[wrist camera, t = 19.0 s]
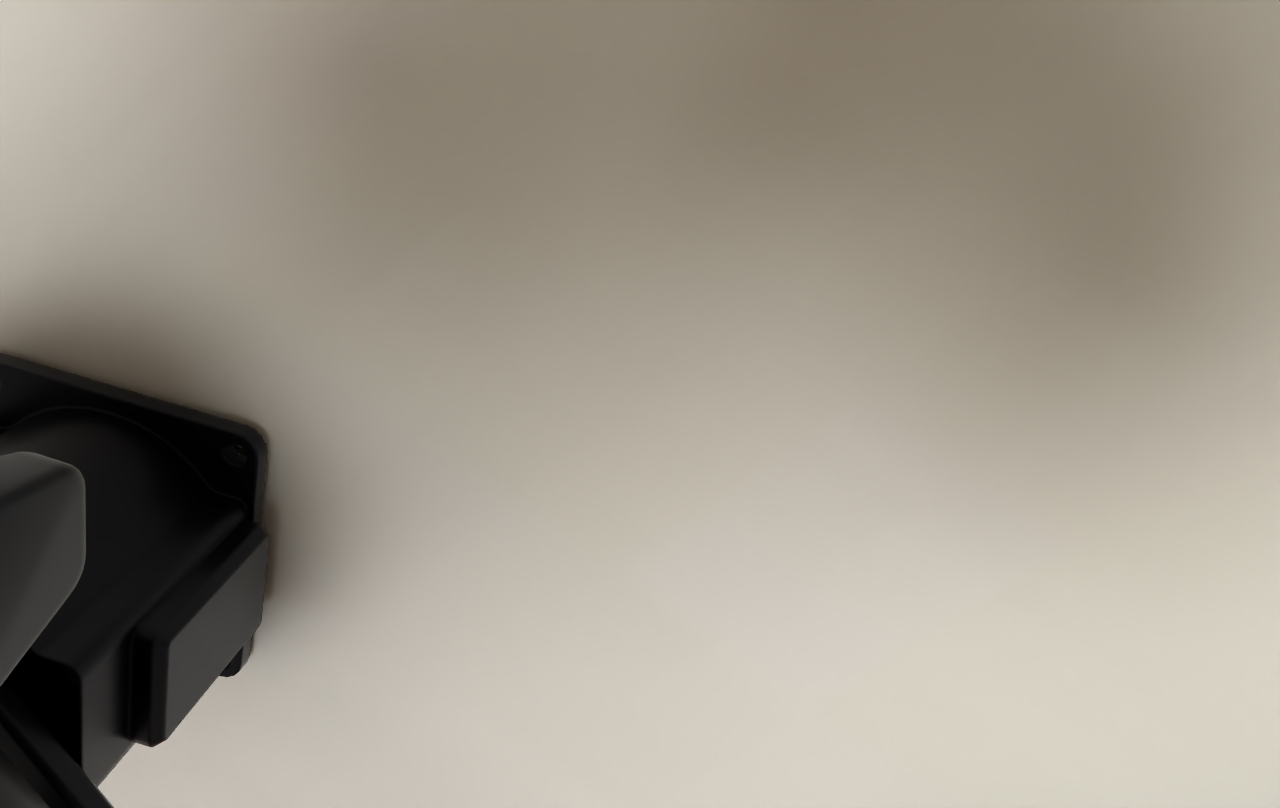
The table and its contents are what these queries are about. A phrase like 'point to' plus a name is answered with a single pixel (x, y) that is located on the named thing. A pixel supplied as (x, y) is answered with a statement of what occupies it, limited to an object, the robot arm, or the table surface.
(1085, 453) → the table surface
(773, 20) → the table surface
